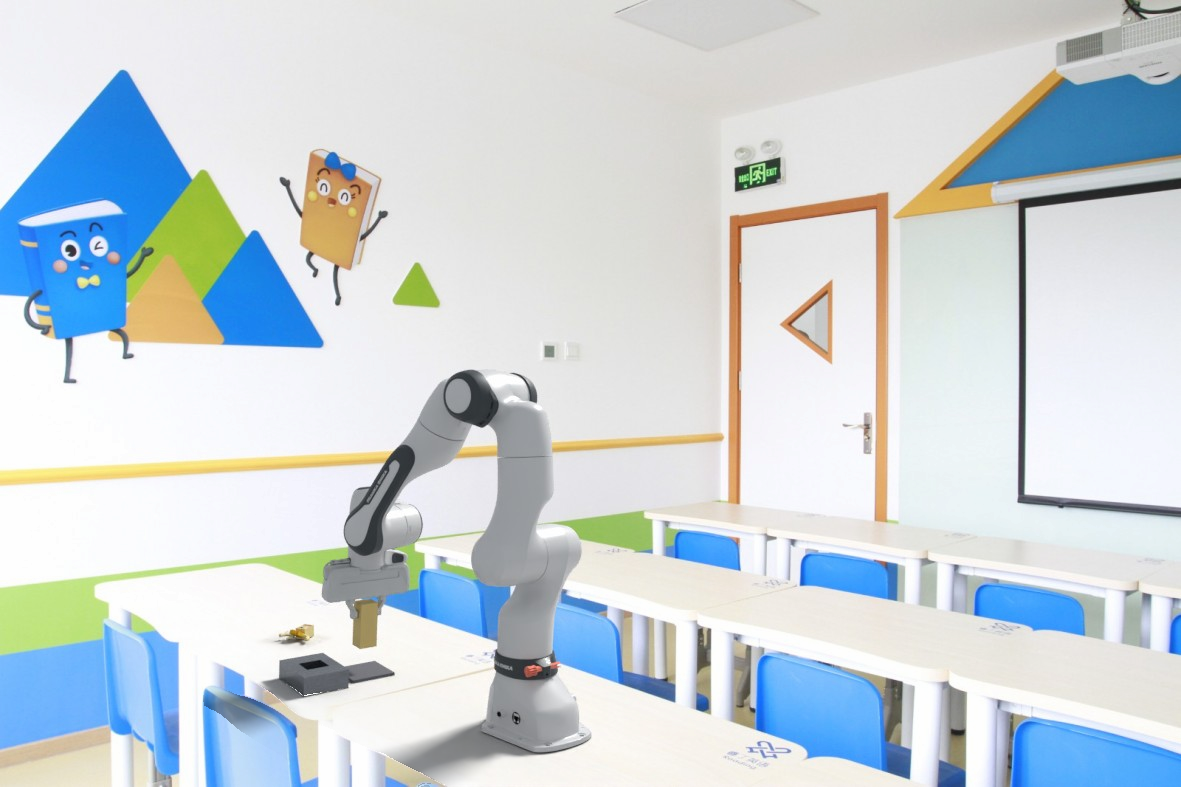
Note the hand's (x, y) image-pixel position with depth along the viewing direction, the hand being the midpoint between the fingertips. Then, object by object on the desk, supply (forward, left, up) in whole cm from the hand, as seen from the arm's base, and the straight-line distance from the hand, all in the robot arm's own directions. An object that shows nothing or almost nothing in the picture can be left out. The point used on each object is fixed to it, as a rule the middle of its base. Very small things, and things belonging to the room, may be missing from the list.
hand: (365, 616), depth 205 cm
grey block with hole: (0, +12, -13) cm, 18 cm away
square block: (0, 0, -7) cm, 7 cm away
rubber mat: (0, 0, -13) cm, 13 cm away
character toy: (+33, +3, -14) cm, 36 cm away
